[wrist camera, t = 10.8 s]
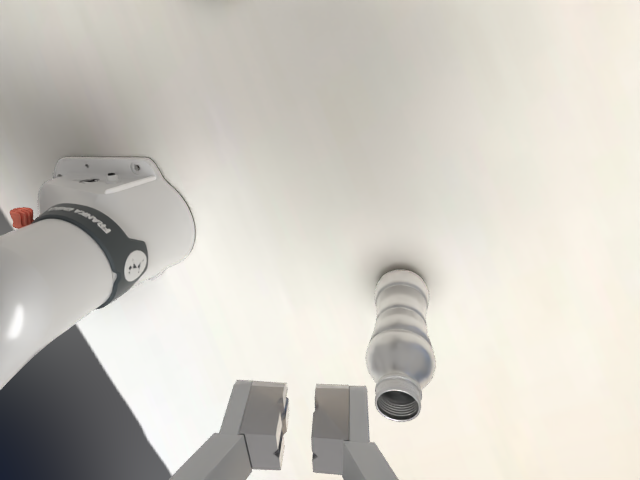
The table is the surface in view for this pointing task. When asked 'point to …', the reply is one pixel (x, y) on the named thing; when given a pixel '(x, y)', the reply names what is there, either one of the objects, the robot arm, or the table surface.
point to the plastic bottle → (400, 345)
